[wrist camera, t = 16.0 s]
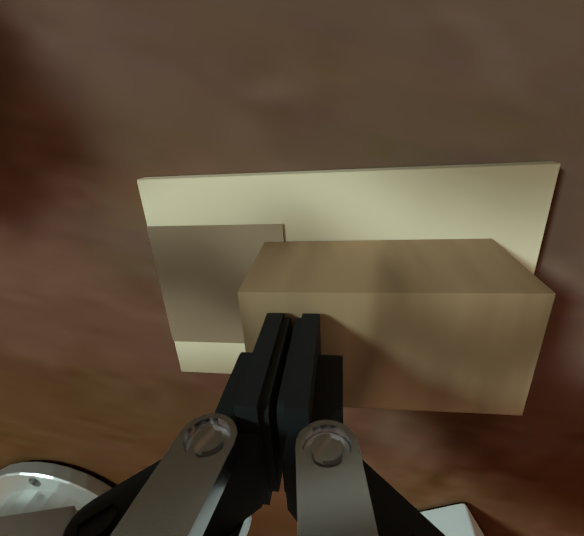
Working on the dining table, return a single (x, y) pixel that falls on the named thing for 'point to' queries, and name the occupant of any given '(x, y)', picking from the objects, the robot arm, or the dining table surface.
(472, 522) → the milk carton
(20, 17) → the dining table surface
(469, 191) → the board
